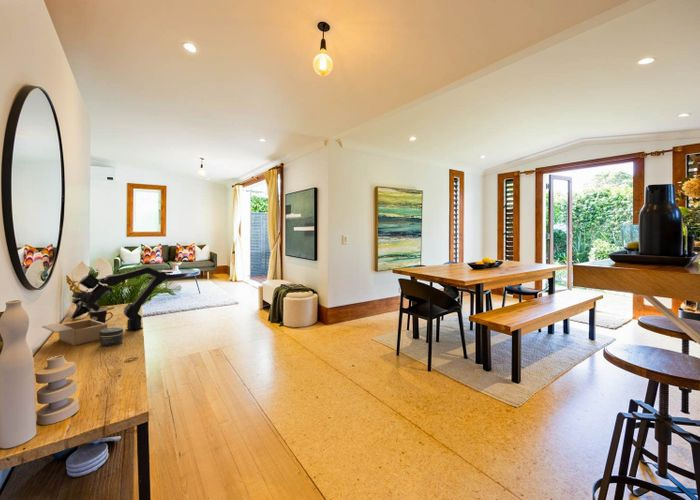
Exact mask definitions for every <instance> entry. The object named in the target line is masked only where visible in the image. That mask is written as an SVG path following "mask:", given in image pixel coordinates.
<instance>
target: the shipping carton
mask: <svg viewBox="0 0 700 500" xmlns="http://www.w3.org/2000/svg"><path fill="white" fill-rule="evenodd" d="M61 324H62V325H65V326H68V327H71V328H73V329H74V330H68V331H63V332H58V340H59V341H61V342H64V343H65V344H68V345H71V346H73V347H77V346H79V345H84V344H85V345H86V344H88V343H92V342H97V341H100V337H99V332H100V331H101V330H103V329H106V328H108V324H107V323H106V322H105V323H102V322H99V321H95V320H92V319H90V318H89V319H83V320H78V321H73V322H67V323H61Z"/></svg>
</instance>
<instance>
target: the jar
mask: <svg viewBox="0 0 700 500" xmlns="http://www.w3.org/2000/svg"><path fill="white" fill-rule="evenodd" d="M99 337H100V340H99V345H100V346H101V347H104V348H106V347H107V348H108V347H109V346H110V347H114V346H115V347H116V346H119V345H120V344H122V343H123V340H124V328H123V327H121V326H113V327H107V328H106V329H103V330H101V331H100V332H99ZM118 344H119V345H118Z"/></svg>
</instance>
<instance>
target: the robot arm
mask: <svg viewBox="0 0 700 500" xmlns="http://www.w3.org/2000/svg"><path fill="white" fill-rule="evenodd" d="M147 274H148V275H150V276H152V278H151V280H150V282H149V284H148V285H147V286H146V287H145V288H144V289H143V291H142V292H141V293H140V295H139V296H138V297H136V299H135V301H133V302H128V303H127V305H126V306H125V307H124V308H123V309H124V310H123V315H124V316H125V317H126V318H127V321H126V322H127V323H126V325H127V328H126V329H125V331H127V332H128V331H131V332H135V331H139V330H141V329H142V330H143V328H142V327H143V326H142V318H143V316H142V315H141V314H140V313H139V312H140V310H141V308H142V306H143V305H144V303H145V302H146V301H147V299H148V298H149V297H150V296H151V294H152V293H153V292H154V290H155V289H156V288H157V287H158V286H160V285H161V284H162V283H163V282H164V281H166V280H167V278H168V274H167V273H166V272H164V271H162V270H156V269H153V268H151V267H149V266H144V267H142V268H138V269H134V270H131V271H130V270H129V271H127V272H124V273H118V274H117V273H116V274H115V273H114V274H109V275H106V276H105V277H102V278H97V277H96V276H94V275H93V274H92V273H88V275H86V276H84V277H82V278H81V280H79V282H78V284H79V285H81V286H82V287H85V288H86V289H87V290H90V289H92V290H91V291H90V292H89V291H88V292H87V291H84V290H83V291H81V292H80V291H76V290H74V292H73V293H72V294H71V295H72V296H71V298H73V299H72V301H71V302H72V303H73V304H75V306H76V308H75V310H74V312H73V313H72V316H71V319H76V318H78V317H80V316H82V315H85V314H87V313H89V312H90V311H91V310H94V311H96V312H97V311H98V310H99V309H101V308H100V306H99V305H98V304H96V303H98V301H101V300H102V298H103V297H104V295H106V293H107V292H108V293H113V287H114V286H117V285H119V284H121V283H123V282H124V281H127V280H130V279H134V278H137V277H140V276H143V275H147Z"/></svg>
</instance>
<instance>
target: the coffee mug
mask: <svg viewBox="0 0 700 500" xmlns="http://www.w3.org/2000/svg"><path fill="white" fill-rule="evenodd" d="M88 313H89V319H92V320H95V321H99V322H102V323H105V324H106V322H108V321H109V320H111V319H112V318H113V313H112V312H110V311H108V309H107V308H100V309H99V310H98V311H97V312H96V311H94V310H93V309H91V311H90V312H88ZM108 314H111V316H110V318H108V319H107V315H108Z"/></svg>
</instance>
